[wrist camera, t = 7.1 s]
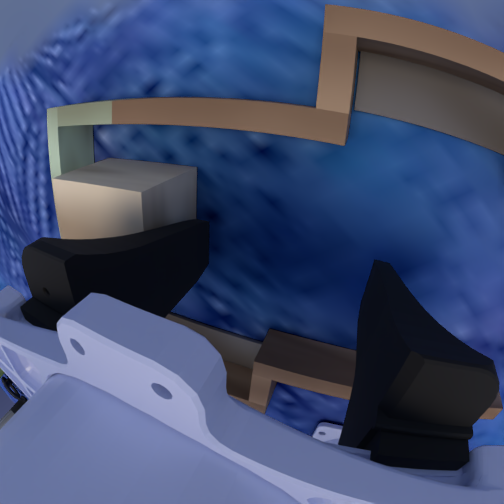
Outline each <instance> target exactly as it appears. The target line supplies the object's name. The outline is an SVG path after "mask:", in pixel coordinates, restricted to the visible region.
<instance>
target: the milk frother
mask: <svg viewBox="0 0 504 504" xmlns="http://www.w3.org/2000/svg"><path fill="white" fill-rule="evenodd" d="M1 379H2V382H3V384H4V386H5V388H6V389H7V391H8V392H9V393H10V394H11V395H12V396H13V397H14V398H16V399H18V401H17V403H16V404H15V405H14V406H13V407H12V408H11V409H10V410H9V411H8V412H7V413H6V414H5V416H4V417H3V418H1V420H0V430H1V428H2V427H3V426H4V425H5V424H6V423H7V422H8V421H9V420H10V419H11V418H12V417H13V415H14V414H15V413H16V412H17V411H18V410H19V409H20V408H21V407H22V406H23V405H24V404H25V403H26V402H27V400H26V399H25V398H24V397H23V396H21V398H20V394H19V393H18V391H17V390H16V388H15V387H14V386H13V385H12V381H11V380H10V379H6V378H5V377H2V378H1ZM10 387H11V388H12V389H13V390H14V392H15V393H16V394H15V393H14V392H13V391H12V390H11V389H10Z"/></svg>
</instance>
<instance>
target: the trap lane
mask: <svg viewBox="0 0 504 504" xmlns="http://www.w3.org/2000/svg"><path fill="white" fill-rule="evenodd" d="M358 51H359V52H361V54H360V64H359V74H358V84H357V92H356V101H355V109H354V110H357V111H362V112H367V113H372V114H376V115H381V116H385V117H389V118H393V119H397V120H401V121H405V122H409V123H412V124H416V125H420V126H423V127H426V128H430V129H433V130H436V131H440V132H443V133H446V134H449V135H452V136H455V137H458V138H461V139H464V140H467V141H469V142H472V143H475V144H478V145H480V146H483V147H485V148H488V149H491V150H493V151H495V152H498V153H500V154H503V155H504V53H503V52H501V51H499V50H497V49H494V48H492V47H490V46H488V45H485V44H483V43H480V42H478V41H476V40H473V39H470V38H468V37H465V36H463V35H460V34H457V33H454V32H451V31H448V30H445V29H442V28H439V27H436V26H433V25H430V24H426V23H423V22H419V21H415V20H412V19H408V18H404V17H399V16H395V15H391V14H386V13H381V12H376V11H370V10H365V9H358V8H352V7H345V6H337V5H327V4H325V18H324V31H323V42H322V54H321V64H320V74H319V84H318V93H317V103H316V107H312V106H305V105H298V104H290V103H281V102H272V101H261V100H249V99H235V98H214V97H151V98H131V99H116V100H105V101H95V102H86V103H78V104H72V105H66V106H60V107H54V108H49V109H47V128H48V146H49V158H50V169H51V178H54V177H57V176H60V175H62V174H65V173H68V172H70V171H73V170H76V169H78V168H81V167H84V166H87V165H90V164H93V163H94V148H93V125H97V124H161V125H184V126H201V127H214V128H226V129H236V130H246V131H254V132H263V133H270V134H278V135H285V136H291V137H298V138H304V139H310V140H316V141H322V142H327V143H332V144H338V145H343V146H345V143H346V141H347V139H348V134H349V127H350V119H351V112H352V104H353V96H354V87H355V78H356V68H357V58H358ZM52 186H53V183H52ZM53 194H54V191H53ZM54 201H55V198H54ZM55 207H56V205H55ZM56 213H57V211H56ZM57 219H58V217H57ZM58 225H59V223H58ZM59 230H60V228H59ZM60 235H61V233H60ZM165 319H168V320H170V321H173V322H176V323H179V324H181V325H184V326H186V327H188V328H190V329H192V330H193V331H195V332H197V333H199V334H200V335H202V336H204V337H205V338H206V339H207V340H208V341H209V342H210V343H211V344H212V345H213V346H214V348H215V349H216V350H217V351H218V352H219V353H220V355H221V357H222V360H223V363H224V366H225V369H226V372H227V375H226V390H227V394H228V395H230V396H232V397H233V398H235V399H237V400H239V401H241V402H242V403H244V404H246V405H248V406H250V407H252V408H254V409H255V410H257V411H259V412H261V413H263V414H265V411H266V409H267V406H268V404H269V402H270V399H271V397H272V394H273V392H274V389H275V387H276V384H277V382H280V383H284V384H287V385H291V386H295V387H298V388H302V389H306V390H310V391H314V392H318V393H322V394H326V395H330V396H335V397H339V398H343V399H348V400H350V396H351V391H352V386H353V381H354V376H355V367H356V351H355V350H351V349H347V348H342V347H338V346H334V345H330V344H326V343H322V342H318V341H314V340H310V339H306V338H302V337H299V336H295V335H291V334H288V333H284V332H280V331H277V330H273V329H269V331H268V333H267V335H266V337H265V339H264V341H263V342H260V341H257V340H253V339H250V338H247V337H244V336H240V335H237V334H234V333H231V332H228V331H224V330H221V329H218V328H215V327H212V326H209V325H206V324H203V323H200V322H197V321H194V320H191V319H189V318H186V317H183V316H180V315H177V314H174V313H172V312H169V314H168V315H167V316H166V317H165ZM502 409H503V407H502V402H501V397H500V393H499V392H498V394H497V397H496V399H495V400H494V402H493V403H492V404H491V406H490V407H489V408H488V409H487V410H486V412H485V413H484V414H483V415H482V416H481V417H480V418H479V419H494V418H495V417H496V416H497V415H498V414H499V413H500V411H501V410H502Z"/></svg>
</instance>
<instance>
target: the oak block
mask: <svg viewBox="0 0 504 504" xmlns="http://www.w3.org/2000/svg"><path fill="white" fill-rule="evenodd" d="M52 183H53V191H54V198H55V205H56V211H57V217H58V223H59V228H60V233H61V239H97V238H108V237H117V236H123V235H129V234H134V233H139V232H143V231H147V230H151V229H155V228H159V227H163V226H166V225H170V224H174V223H178V222H182V221H186V220H191V219H196V194H197V167H191V166H184V165H175V164H167V163H158V162H149V161H139V160H128V159H116V158H108V159H105V160H102V161H99V162H96V163H93V164H90V165H87V166H84V167H81V168H78V169H76V170H73V171H70V172H68V173H65V174H62V175H60V176H57V177H54V178H52Z"/></svg>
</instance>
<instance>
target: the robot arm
mask: <svg viewBox="0 0 504 504" xmlns="http://www.w3.org/2000/svg"><path fill="white" fill-rule="evenodd" d="M208 264H209V221H204V220H200V219H191V220H186V221H182V222H178V223H174V224H170V225H166V226H163V227H159V228H155V229H151V230H147V231H143V232H139V233H134V234H129V235H123V236H117V237H108V238H97V239H58V238H46V237H43V238H40V239H38V240H36V241H35V242H33V243H31V244H30V245H28V246H26V247H25V248H24V250H23V254H22V265H23V269H24V273H25V276H26V279H27V282H28V285H29V288H30V291H31V294H32V296H33V297H32V298H31V299H29V300H28V301H27V302H26V300H25V298H24V297H23V295H22V294H21V293H19V292H18V291H16V290H15V289H14V288H12V287H11V286H7V287H5V288H4V289H3V290H1V291H0V368H1V369H2V370H3V371H4V373H5V374H6V375H7V376H8V377H9V378H10V379H11V380H12V381H13V382H14V383H15V384H16V385H17V386H18V387H19V389H20V390H21V391H22V392H23V393H24V394H25V395H26V396H27V397H28V398H29V400H28V401H27V402H26V403H25V404H24V405H23V406H22V407H21V408H20V409H19V410H18V411H17V412H16V413H15V414H14V415H13V417H12V418H11V419H10V420H9V421H8V422H7V423H6V424H5V425H4V426H3V427H2V428H1V430H0V504H504V445H485V446H480V447H477V448H475V449H473V450H472V451H470V452H469V446H468V439H471V438H472V436H473V427H472V425H473V424H474V423H475V422H476V421H477V420H478V419H479V418H480V417H481V416H482V415H483V414H484V413H485V412H486V410H487V409H488V408H489V407H490V406H491V404H492V403H493V402H494V400H495V399H496V397H497V394H498V392H499V380H498V376H497V373H496V369H495V365H494V362H493V360H492V359H490V358H488V357H486V356H484V355H483V354H481V353H479V352H477V351H476V350H474V349H472V348H471V347H469V346H468V345H466V344H465V343H463V342H462V341H460V340H459V339H457V338H456V337H455V336H453V335H452V334H451V333H450V332H448V331H447V330H446V329H445V328H444V327H443V326H441V325H440V324H439V323H438V322H437V321H436V320H435V319H434V318H433V317H432V316H431V315H430V314H429V313H428V312H427V311H426V310H425V309H424V308H423V307H422V306H421V305H420V303H419V302H418V301H417V300H416V299H415V297H414V296H413V295H412V294H411V292H410V291H409V290H408V288H407V287H406V286H405V284H404V283H403V281H402V280H401V279H400V277H399V276H398V274H397V273H396V271H395V270H394V269H393V267H392V266H391V265H390V263H387V262H383V261H379V260H375V259H374V263H373V266H372V269H371V273H370V276H369V279H368V282H367V285H366V288H365V292H364V295H363V298H362V301H361V305H360V311H359V318H358V328H357V351H356V367H355V376H354V381H353V386H352V391H351V396H350V400H349V404H348V408H347V413H346V417H345V420H344V424H343V426H340V425H335V424H331V423H326V422H322V423H319V424H318V426H317V428H316V430H315V432H314V433H313V435H312V437H311V436H309V435H307V434H304V433H302V432H300V431H298V430H296V429H294V428H291V427H289V426H287V425H285V424H283V423H281V422H279V421H277V420H275V419H273V418H271V417H269V416H267V415H265V414H263V413H261V412H259V411H257V410H255V409H254V408H252V407H250V406H248V405H246V404H244V403H242V402H241V401H239V400H237V399H235V398H233V397H232V396H230V395H228V394H227V390H226V375H227V372H226V369H225V366H224V363H223V360H222V357H221V355H220V353H219V352H218V351H217V350H216V349H215V348H214V346H213V345H212V344H211V343H210V342H209V341H208V340H207V339H206V338H205V337H204V336H202V335H200V334H199V333H197V332H195V331H193V330H192V329H190V328H188V327H186V326H184V325H181V324H179V323H176V322H173V321H170V320H168V319H165V317H166V316H167V315H168V314H169V312H170V311H171V310H172V309H173V308H174V307H175V306H176V305H177V303H178V302H179V301H180V300H181V299H182V298H183V297H184V296H185V294H186V293H187V292H188V291H189V290H190V289H191V288H192V287H193V285H194V284H195V283H196V282H197V281H198V279H199V278H200V276H201V275H202V273H203V272H204V270H205V269H206V267H207V265H208Z"/></svg>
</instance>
